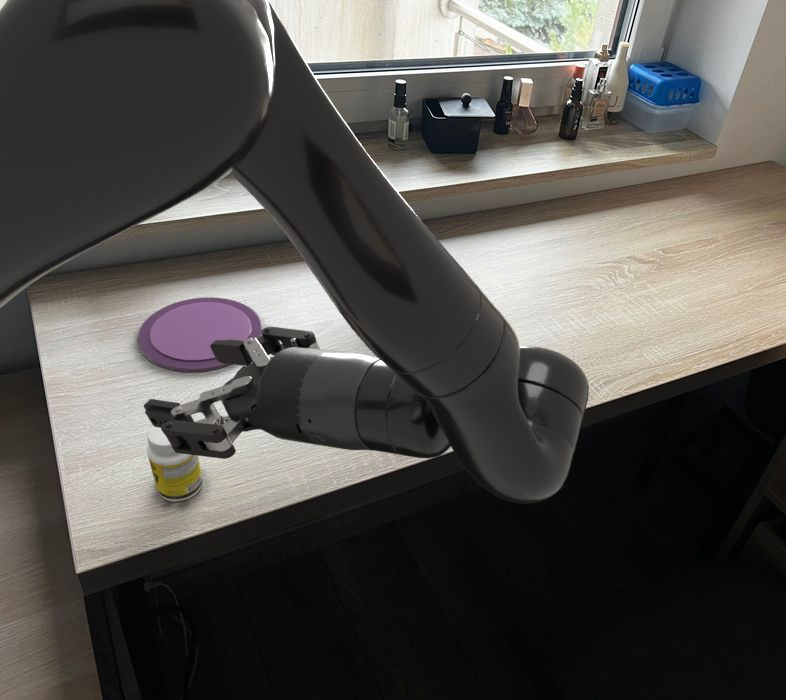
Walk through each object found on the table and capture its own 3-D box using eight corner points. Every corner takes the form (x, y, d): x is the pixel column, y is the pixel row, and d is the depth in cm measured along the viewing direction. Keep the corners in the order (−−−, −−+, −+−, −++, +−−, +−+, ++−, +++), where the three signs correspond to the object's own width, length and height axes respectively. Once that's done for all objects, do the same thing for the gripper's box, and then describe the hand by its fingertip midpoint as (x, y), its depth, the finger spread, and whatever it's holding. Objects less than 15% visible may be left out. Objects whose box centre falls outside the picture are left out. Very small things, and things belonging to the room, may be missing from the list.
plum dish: (171, 388, 89) (170, 384, 89) (118, 325, 98) (117, 320, 98) (285, 343, 99) (284, 338, 98) (227, 288, 107) (226, 284, 107)
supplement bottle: (157, 472, 79) (143, 417, 74) (202, 465, 80) (192, 411, 75) (156, 506, 76) (142, 451, 70) (204, 498, 77) (193, 443, 72)
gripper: (364, 308, 60) (218, 300, 67) (261, 422, 50) (103, 398, 57) (388, 379, 64) (249, 364, 71) (298, 498, 54) (146, 466, 61)
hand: (184, 379), depth 64 cm, fingers open, 8 cm apart
